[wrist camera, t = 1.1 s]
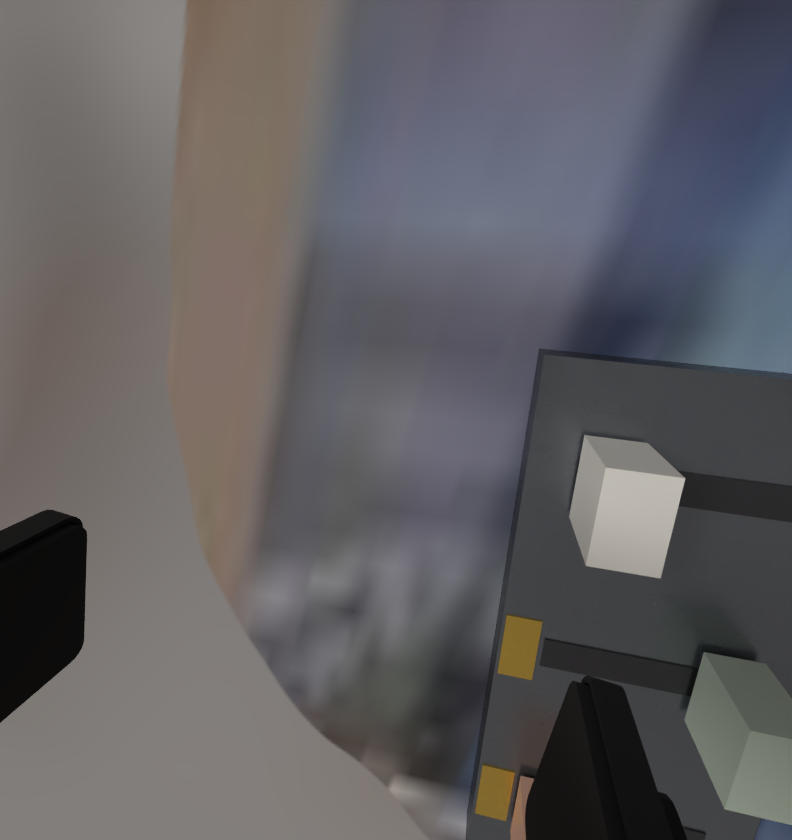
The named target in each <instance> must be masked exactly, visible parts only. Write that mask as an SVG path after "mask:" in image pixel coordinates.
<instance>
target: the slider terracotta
mask: <svg viewBox="0 0 792 840" xmlns="http://www.w3.org/2000/svg"><path fill="white" fill-rule="evenodd" d="M533 781H534V779H533V778H528V777H524V776H520V782H519V787H518V792H517V798H516V803H515V808H514V814H513V819H512V824H511V830H510V835H511V840H526V832H525V810H526V803H527V798H528V794H529V792H530V789H531V786H532V783H533Z"/></svg>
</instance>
